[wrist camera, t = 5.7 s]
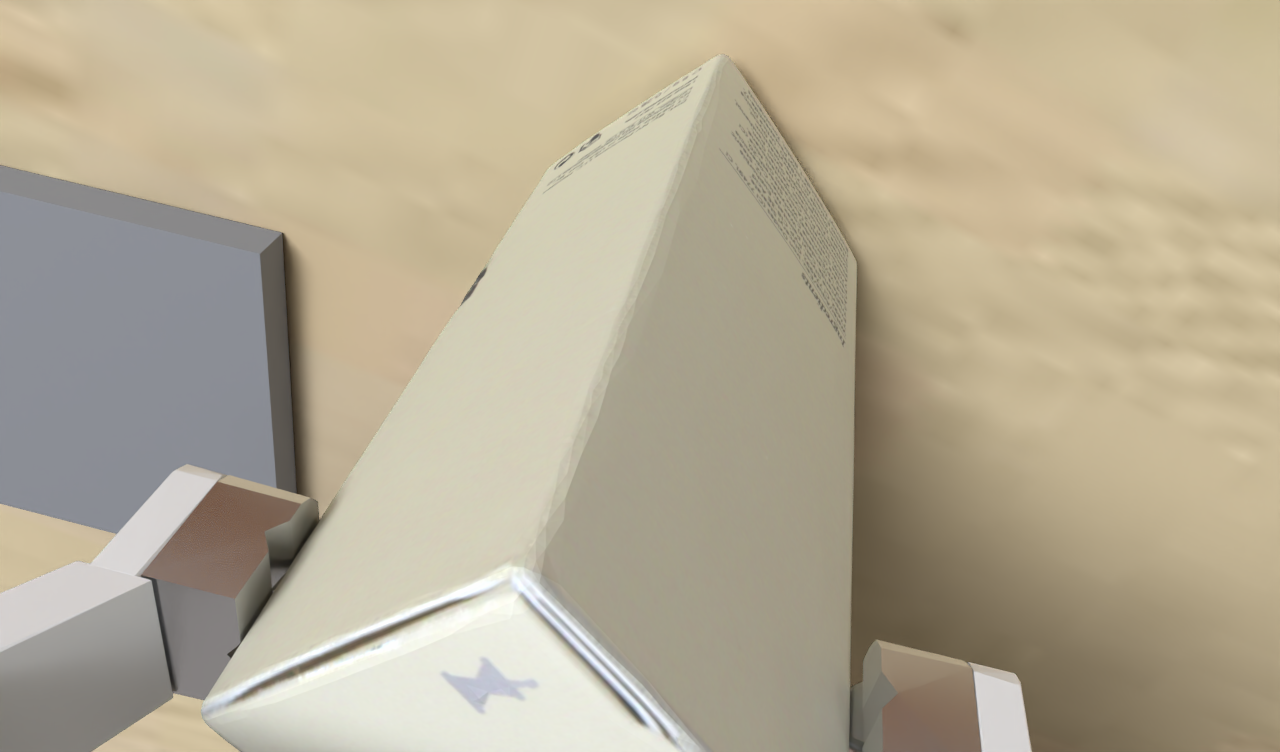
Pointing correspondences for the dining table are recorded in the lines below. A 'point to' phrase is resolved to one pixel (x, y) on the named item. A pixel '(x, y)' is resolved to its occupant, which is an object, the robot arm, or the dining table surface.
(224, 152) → the dining table surface
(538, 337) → the box
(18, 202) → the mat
